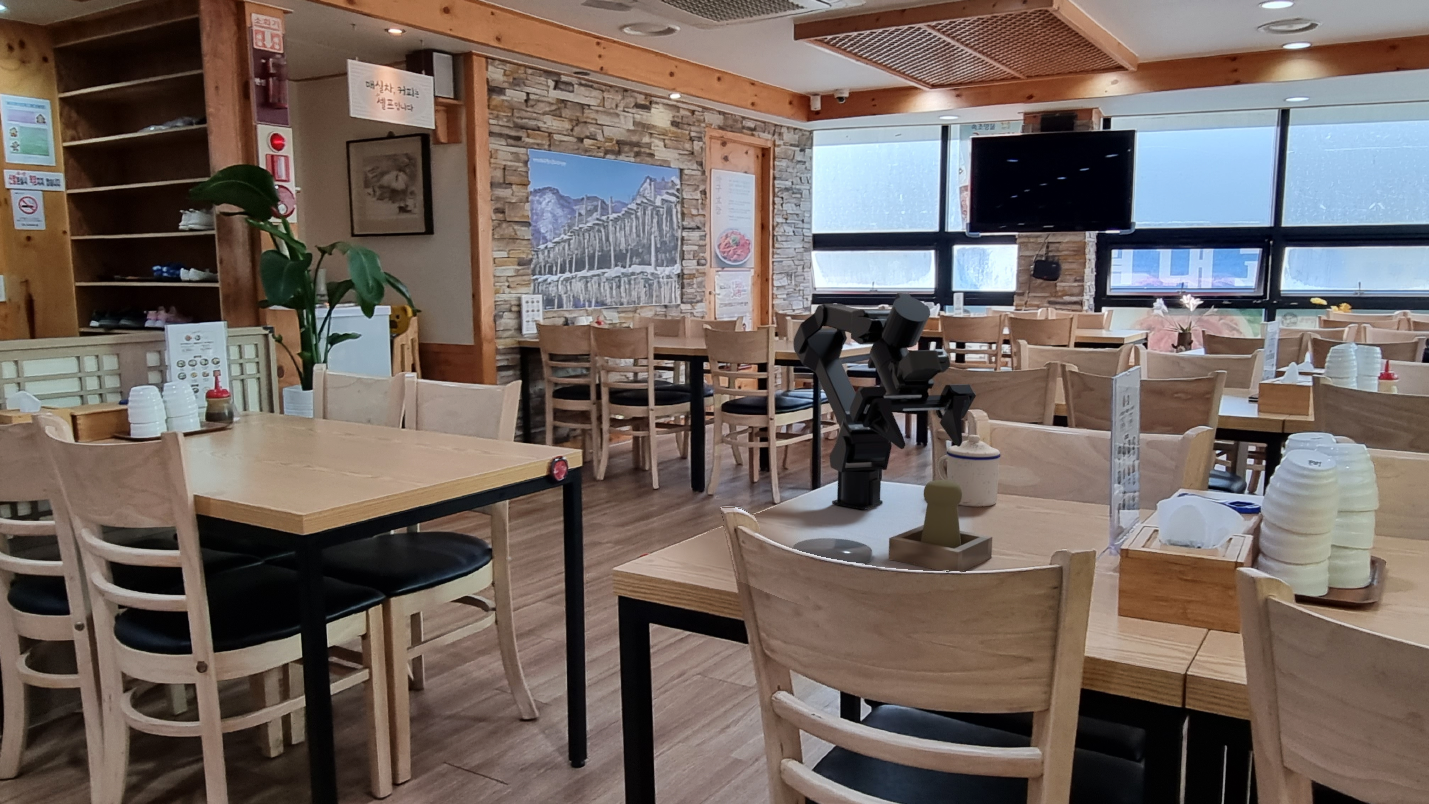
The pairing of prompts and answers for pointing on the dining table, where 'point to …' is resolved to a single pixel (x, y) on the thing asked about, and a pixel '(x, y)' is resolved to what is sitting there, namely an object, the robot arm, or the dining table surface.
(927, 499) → the olive game pawn
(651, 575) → the dining table surface
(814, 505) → the dining table surface
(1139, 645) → the dining table surface
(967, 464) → the teacup with lid
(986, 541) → the walnut collar
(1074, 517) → the dining table surface
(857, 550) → the slate coaster
